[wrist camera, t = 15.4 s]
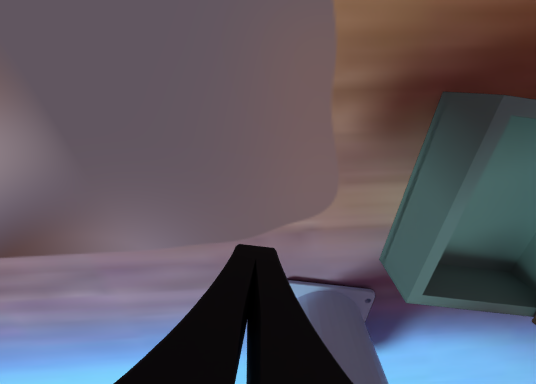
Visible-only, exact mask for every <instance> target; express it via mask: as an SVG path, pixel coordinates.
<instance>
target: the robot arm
mask: <svg viewBox="0 0 536 384" xmlns="http://www.w3.org/2000/svg"><path fill="white" fill-rule="evenodd" d="M374 298H375V293H374V291H373V290H371V289H364V288H355V287H346V286H337V285H328V284H319V283H310V282H301V281H292V280H287V278H286V275H285V273H284V271H283V268H282V266H281V263H280V261H279V258H278V255H277V252H276V250H275V249H274V248H269V247H260V246H252V245H243V244H239V245H237V246H236V247H235V250H234V252H233V254H232V255H231V257H230V259H229V261H228V262H227V264H226V265H225V267H224V268H223V270H222V271H221V273H220V274H219V275H218V277H217V278H216V280H215V281H214V282H213V284H212V285H211V286H210V288H209V289H208V290H207V291H206V293H205V294H204V295H203V296H202V297H201V299H200V300H199V301H198V302H197V303H196V305H195V306H194V307H193V308H192V309H191V310H190V312H189V313H188V314H187V315H186V316H185V317H184V318H183V319H182V320H181V321H180V322H179V323H178V325H177V326H176V327H175V328H174V329H173V330H172V331H171V332H170V333H169V334H168V335H167V336H166V337H165V338H164V339H163V340H162V341H161V342H159V343H158V344H157V345H156V346H155V347H154V348H153V349H152V350H151V351H150V352H149V353H148V354H147V355H146V356H145V357H144V358H143V359H142V360H140V361H139V362H138V363H137V364H136V365H135V366H134V367H133V368H132V369H130V370H129V371H128V372H127V373H126V374H125V375H123V376H122V377H121V378H120V379H119V380H117V381H116V382H115V383H114V384H235V380H236V374H237V369H238V364H239V359H240V354H241V349H242V344H243V339H244V334H245V329H246V324H247V384H388V381H387V379H386V376H385V374H384V371H383V369H382V366H381V363H380V361H379V358H378V356H377V353H376V351H375V348H374V345H373V343H372V340H371V338H370V335H369V333H368V330H367V327H366V325H365V321H366V318H367V316H368V313H369V311H370V308H371V306H372V303H373V301H374ZM366 299H367V300H366Z"/></svg>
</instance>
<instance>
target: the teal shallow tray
mask: <svg viewBox="0 0 536 384" xmlns="http://www.w3.org/2000/svg"><path fill="white" fill-rule="evenodd" d="M380 261H381V263H382V264H383V266H384V268H385V269H386V271H387V273H388V274H389V276H390V277H391V279H392V281H393V282H394V284H395V286H396V287H397V289H398V291H399V292H400V294H401V295H402V297H403V299H404V300H405V302H406V303H412V304H421V305H430V306H439V307H448V308H457V309H467V310H476V311H485V312H494V313H503V314H512V315H522V316H531V317H535V316H536V100H535V99H528V98H521V97H514V96H507V95H495V94H477V93H459V92H443V93H442V96H441V98H440V101H439V104H438V106H437V109H436V111H435V114H434V117H433V119H432V122H431V125H430V127H429V130H428V133H427V135H426V138H425V140H424V143H423V146H422V148H421V151H420V154H419V156H418V159H417V162H416V164H415V167H414V170H413V172H412V175H411V177H410V180H409V183H408V185H407V188H406V191H405V193H404V196H403V199H402V201H401V204H400V206H399V209H398V212H397V214H396V217H395V220H394V222H393V225H392V228H391V230H390V233H389V235H388V238H387V241H386V243H385V246H384V249H383V251H382V254H381V257H380Z"/></svg>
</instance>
